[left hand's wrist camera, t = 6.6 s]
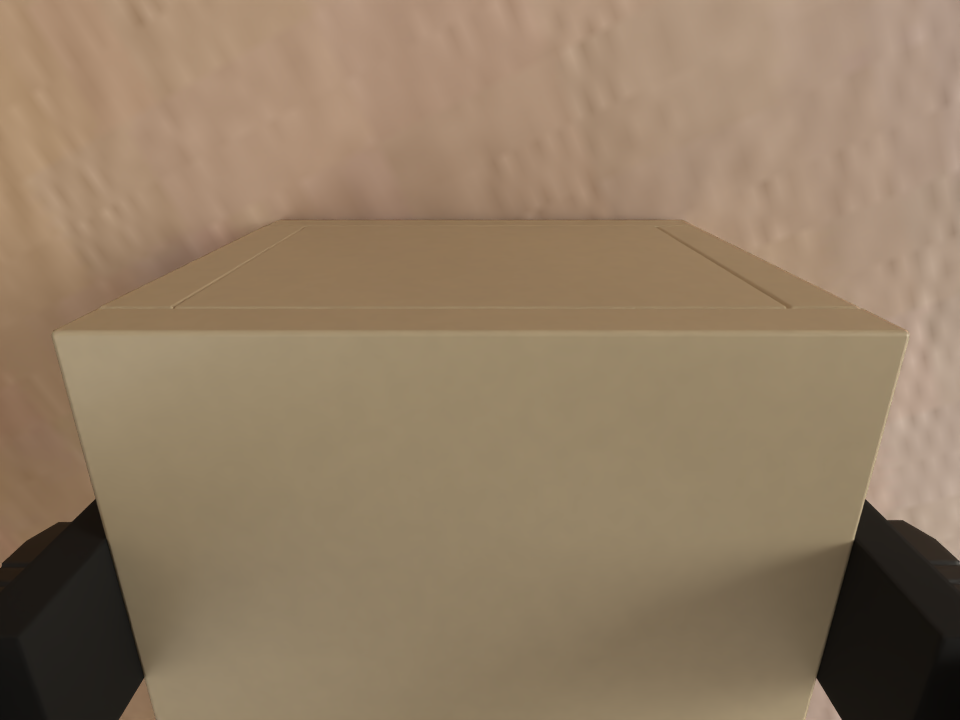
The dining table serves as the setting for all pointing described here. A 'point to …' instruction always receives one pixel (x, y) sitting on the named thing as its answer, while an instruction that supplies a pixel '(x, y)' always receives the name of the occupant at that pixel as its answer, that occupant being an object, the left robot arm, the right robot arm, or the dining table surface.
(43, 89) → the dining table surface
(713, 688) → the cabinet
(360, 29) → the dining table surface
